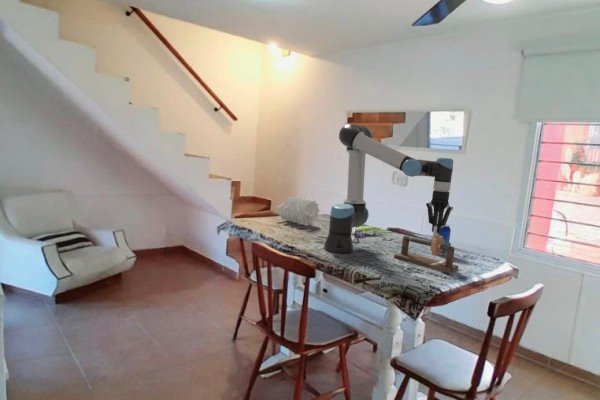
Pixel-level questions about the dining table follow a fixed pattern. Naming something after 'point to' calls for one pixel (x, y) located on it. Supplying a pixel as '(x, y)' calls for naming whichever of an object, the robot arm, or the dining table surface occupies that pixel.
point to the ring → (435, 243)
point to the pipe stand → (427, 261)
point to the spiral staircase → (299, 211)
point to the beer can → (445, 236)
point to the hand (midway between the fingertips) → (435, 239)
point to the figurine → (367, 228)
